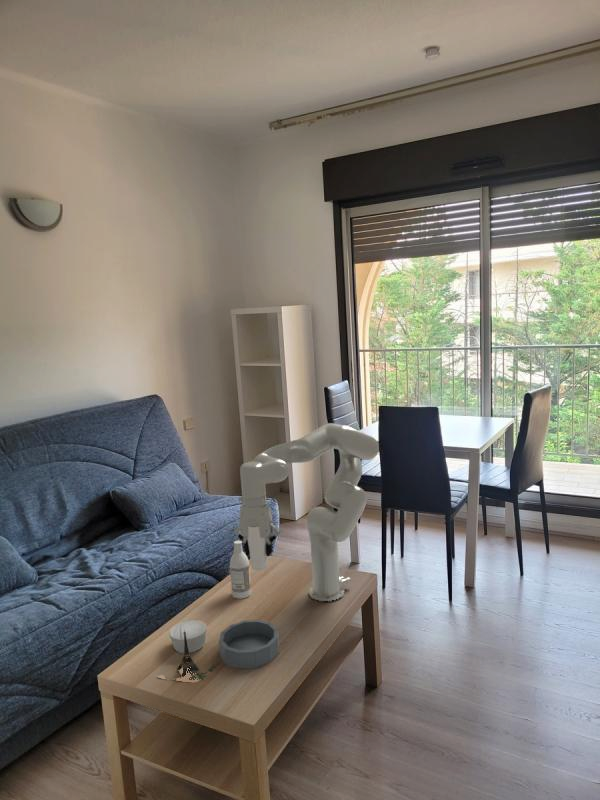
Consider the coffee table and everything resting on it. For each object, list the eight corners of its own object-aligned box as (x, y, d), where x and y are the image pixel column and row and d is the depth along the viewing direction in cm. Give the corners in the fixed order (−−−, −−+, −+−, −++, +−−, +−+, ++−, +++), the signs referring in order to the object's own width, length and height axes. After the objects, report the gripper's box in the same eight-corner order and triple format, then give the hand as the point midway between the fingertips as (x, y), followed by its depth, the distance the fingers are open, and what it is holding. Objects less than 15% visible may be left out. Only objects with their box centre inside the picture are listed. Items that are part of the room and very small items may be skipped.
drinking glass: (267, 572, 184) (263, 527, 181) (246, 571, 185) (243, 527, 183) (272, 563, 190) (269, 519, 188) (252, 562, 192) (249, 519, 189)
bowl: (262, 628, 186) (261, 614, 185) (289, 654, 171) (288, 638, 170) (212, 647, 177) (210, 631, 176) (235, 675, 162) (234, 659, 161)
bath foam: (252, 597, 207) (248, 544, 204) (233, 600, 205) (229, 547, 202) (250, 588, 213) (246, 537, 210) (231, 591, 212) (227, 539, 209)
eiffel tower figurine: (154, 680, 163) (150, 636, 161) (171, 659, 173) (167, 617, 171) (203, 686, 159) (199, 641, 157) (218, 664, 169) (214, 622, 167)
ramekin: (163, 647, 179) (162, 631, 178) (193, 631, 187) (191, 616, 186) (185, 660, 171) (183, 643, 170) (215, 643, 179) (213, 627, 178)
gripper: (224, 504, 183) (229, 557, 186) (277, 505, 179) (281, 560, 181) (233, 496, 190) (237, 548, 193) (283, 497, 186) (287, 550, 188)
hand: (258, 553), depth 187 cm, fingers closed on drinking glass, 6 cm apart
